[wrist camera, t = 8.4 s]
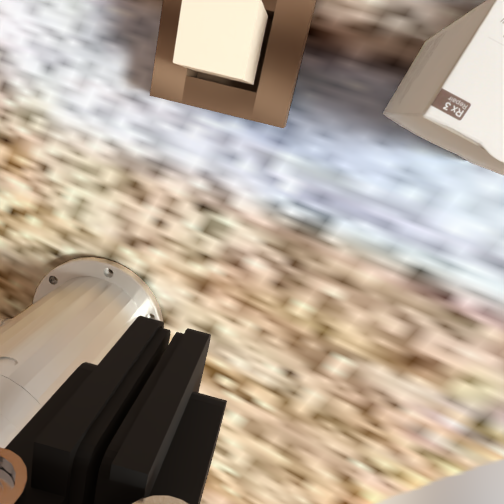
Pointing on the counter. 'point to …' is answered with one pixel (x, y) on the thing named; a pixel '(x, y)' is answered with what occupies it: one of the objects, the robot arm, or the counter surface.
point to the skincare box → (459, 88)
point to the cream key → (221, 37)
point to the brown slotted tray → (230, 91)
